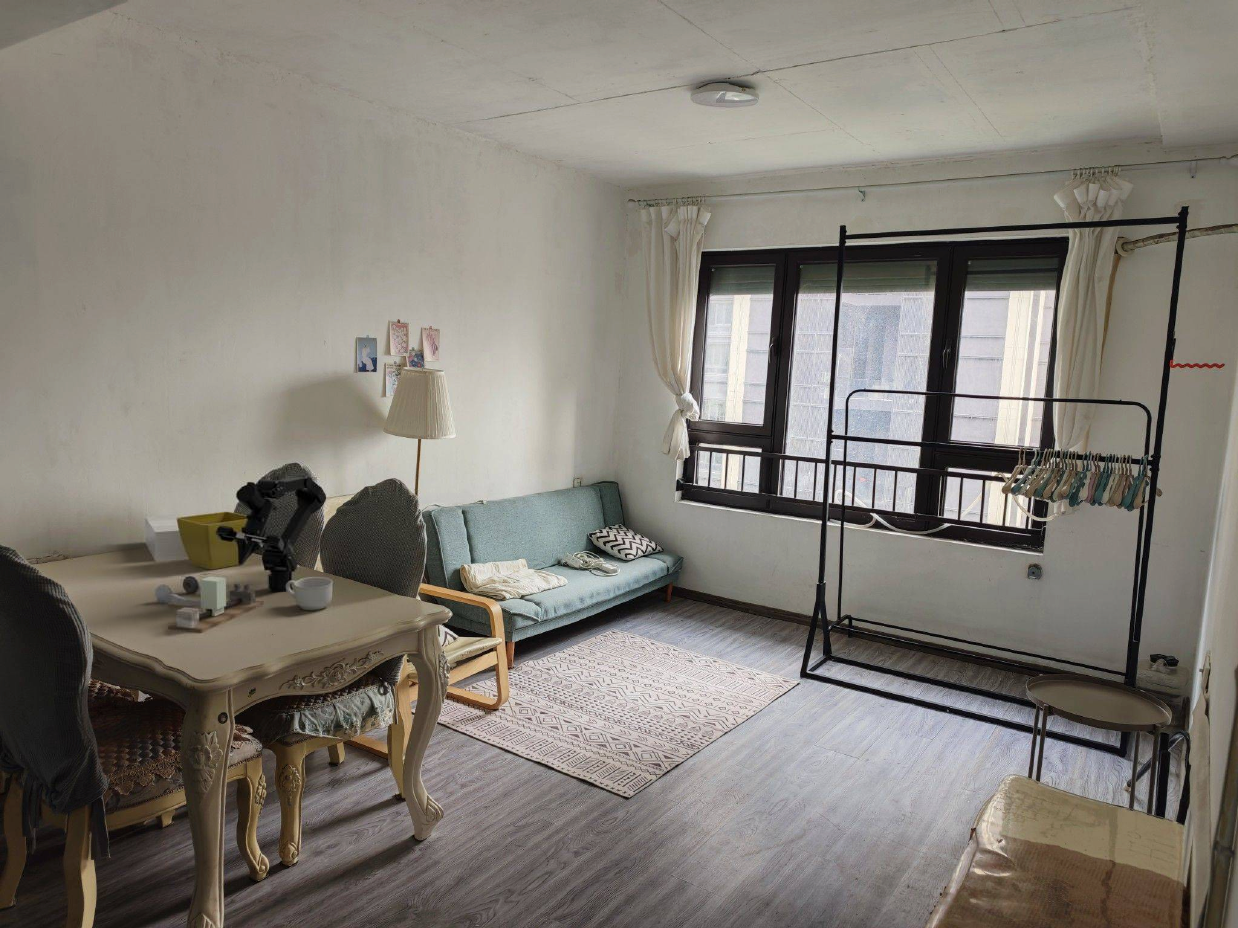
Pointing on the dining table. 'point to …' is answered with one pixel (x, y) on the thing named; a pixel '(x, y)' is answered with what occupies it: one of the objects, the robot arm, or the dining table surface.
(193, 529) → the flower pot
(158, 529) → the white rectangular box
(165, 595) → the headphones
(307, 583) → the teacup
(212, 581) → the pale green box
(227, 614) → the cord board
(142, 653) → the dining table surface
